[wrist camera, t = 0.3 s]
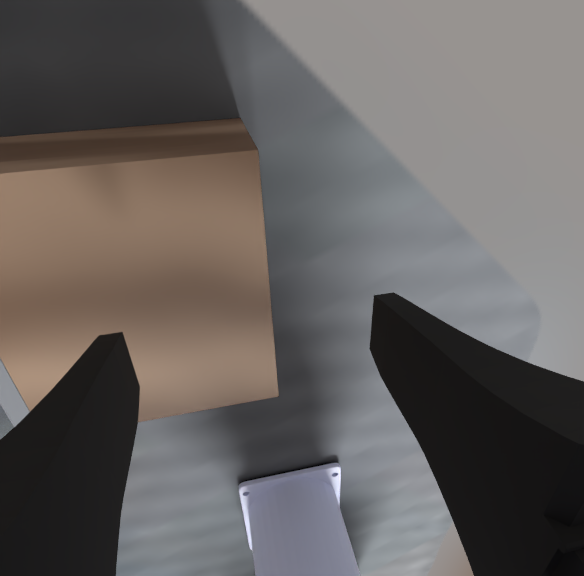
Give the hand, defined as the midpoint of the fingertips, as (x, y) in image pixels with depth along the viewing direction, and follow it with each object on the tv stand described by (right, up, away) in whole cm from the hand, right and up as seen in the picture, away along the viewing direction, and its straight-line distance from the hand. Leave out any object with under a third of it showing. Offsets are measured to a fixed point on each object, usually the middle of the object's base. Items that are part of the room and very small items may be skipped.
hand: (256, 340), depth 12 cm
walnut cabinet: (-6, +4, +8) cm, 11 cm away
